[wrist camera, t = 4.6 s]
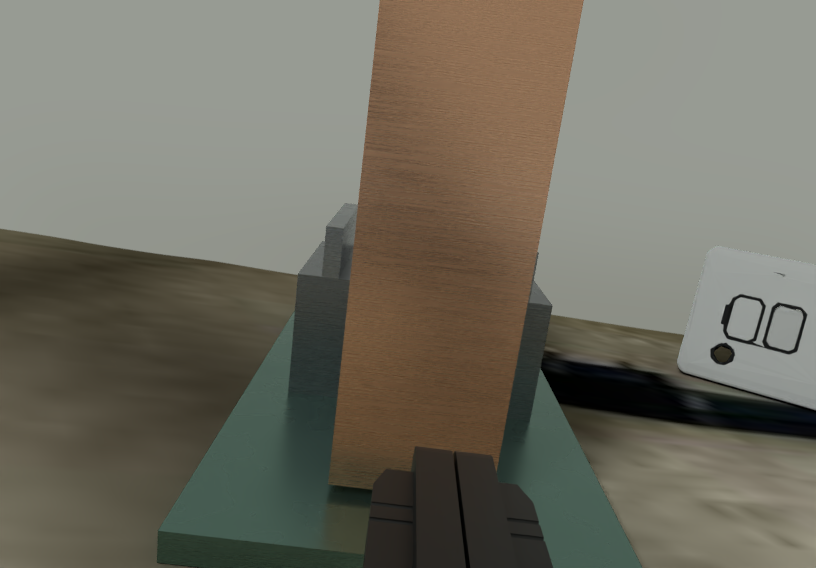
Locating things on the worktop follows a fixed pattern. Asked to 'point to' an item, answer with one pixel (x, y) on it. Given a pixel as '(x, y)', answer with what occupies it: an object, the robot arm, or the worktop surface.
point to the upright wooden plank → (447, 225)
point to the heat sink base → (313, 437)
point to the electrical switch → (755, 325)
